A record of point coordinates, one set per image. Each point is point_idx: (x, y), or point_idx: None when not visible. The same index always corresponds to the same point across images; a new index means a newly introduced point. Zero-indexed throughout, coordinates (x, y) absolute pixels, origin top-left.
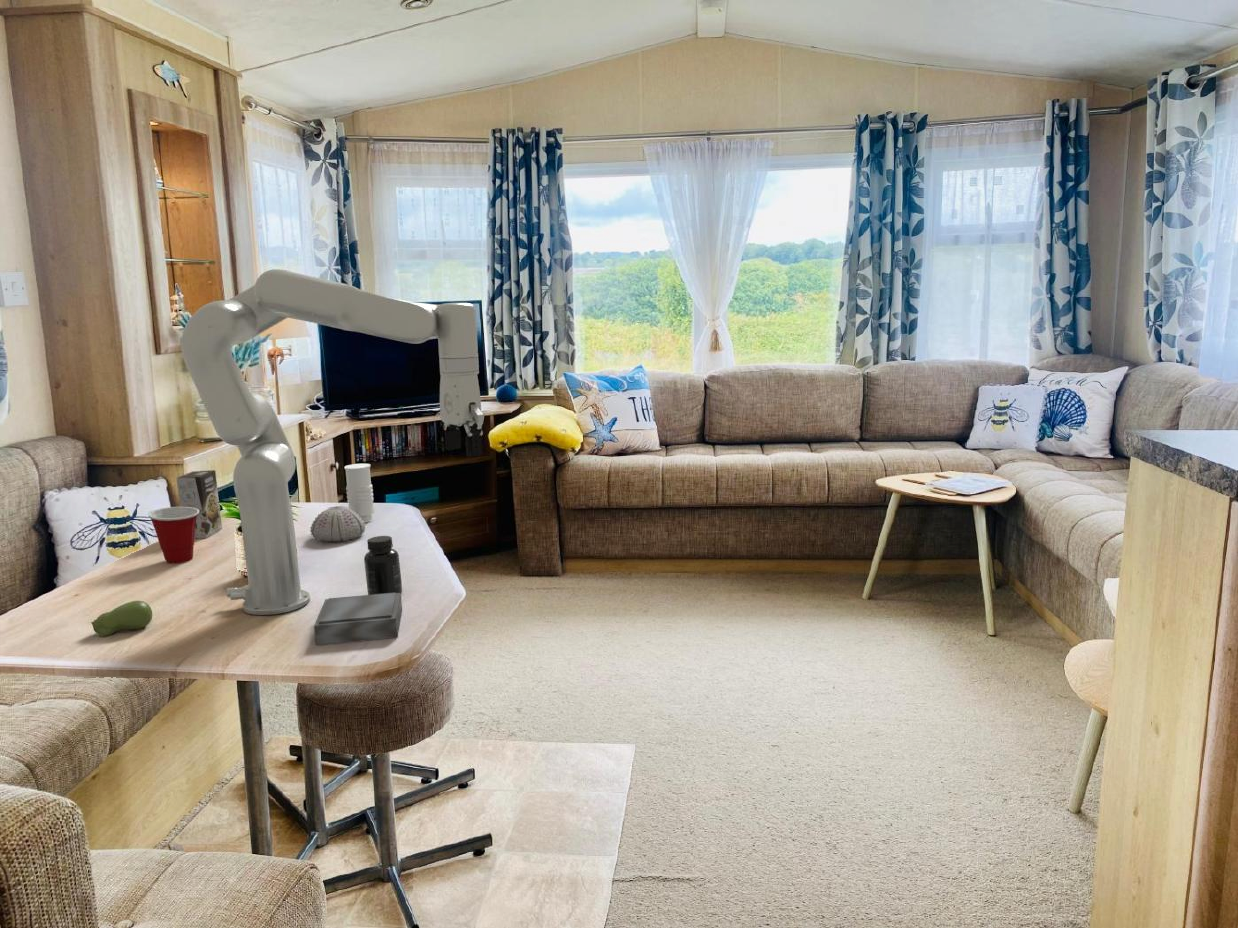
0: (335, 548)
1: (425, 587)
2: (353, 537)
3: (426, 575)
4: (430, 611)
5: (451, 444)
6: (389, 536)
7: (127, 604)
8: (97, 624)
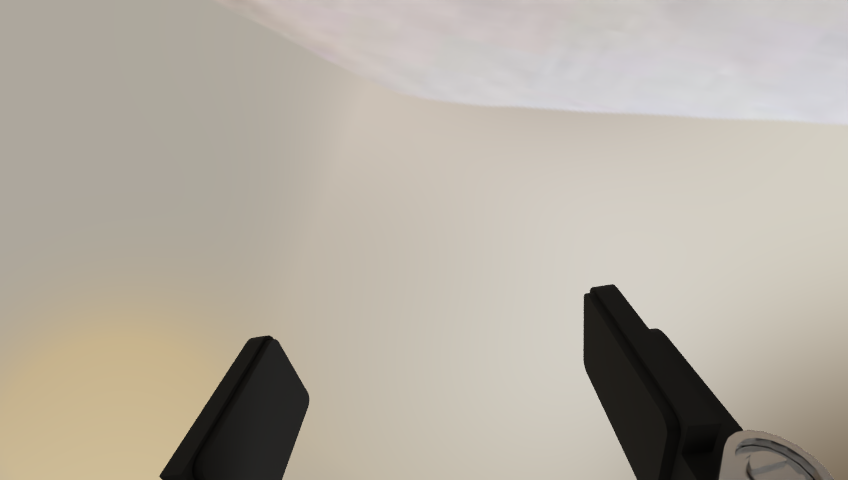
0: None
1: (490, 44)
2: None
3: (574, 65)
4: (327, 21)
5: (599, 339)
6: None
7: None
8: None
